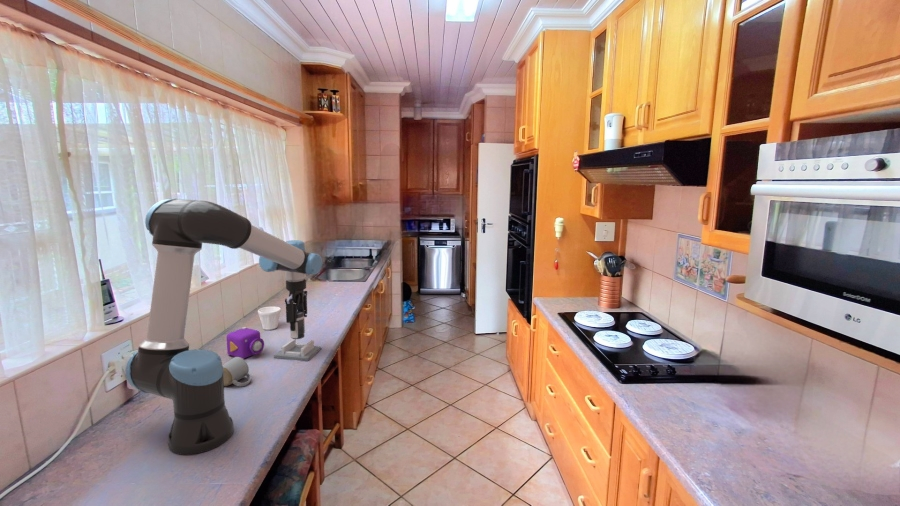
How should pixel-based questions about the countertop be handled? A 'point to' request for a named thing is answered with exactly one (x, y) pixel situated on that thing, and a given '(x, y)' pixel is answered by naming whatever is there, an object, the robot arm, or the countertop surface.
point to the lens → (300, 324)
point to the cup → (269, 317)
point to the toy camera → (244, 343)
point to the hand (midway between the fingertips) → (297, 335)
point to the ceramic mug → (235, 372)
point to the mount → (297, 351)
